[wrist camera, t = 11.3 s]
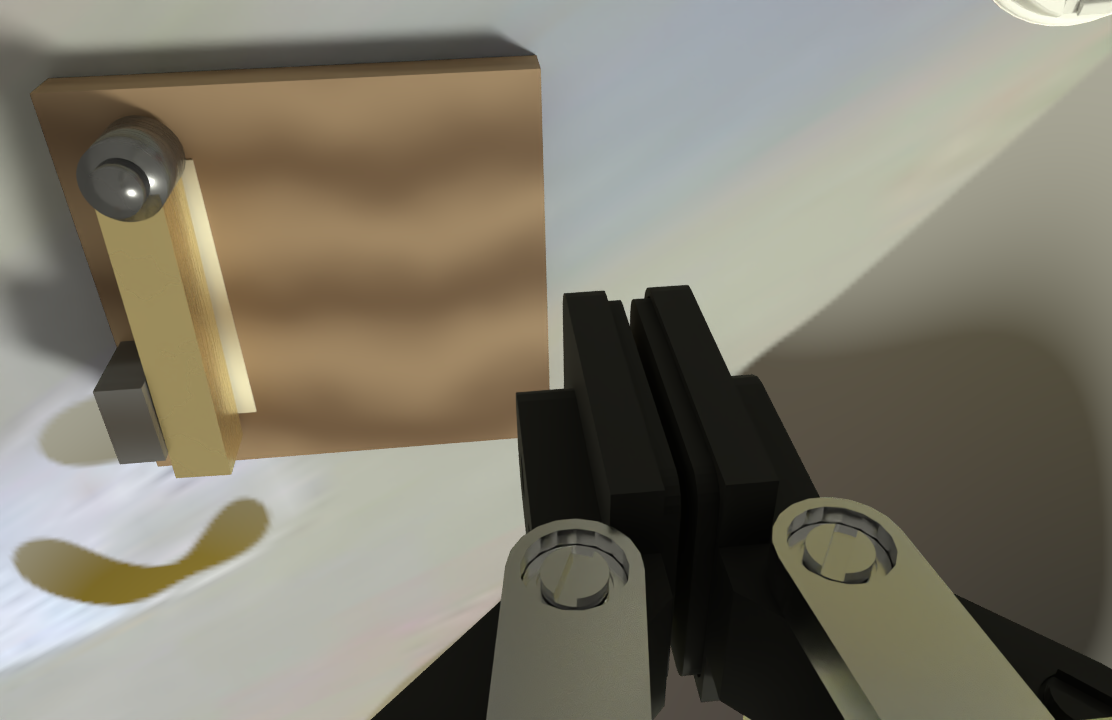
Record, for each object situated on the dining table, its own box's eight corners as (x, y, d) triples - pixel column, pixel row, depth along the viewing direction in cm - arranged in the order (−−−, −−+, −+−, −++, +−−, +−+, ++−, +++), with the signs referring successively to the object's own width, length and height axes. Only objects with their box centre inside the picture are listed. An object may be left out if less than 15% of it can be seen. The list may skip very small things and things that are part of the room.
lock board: (48, 78, 37) (-13, 128, 32) (536, 55, 38) (550, 99, 34) (167, 441, 48) (135, 521, 43) (546, 412, 49) (558, 486, 44)
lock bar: (91, 116, 36) (55, 153, 32) (175, 114, 36) (148, 150, 33) (183, 438, 45) (162, 493, 41) (250, 434, 45) (234, 488, 41)
